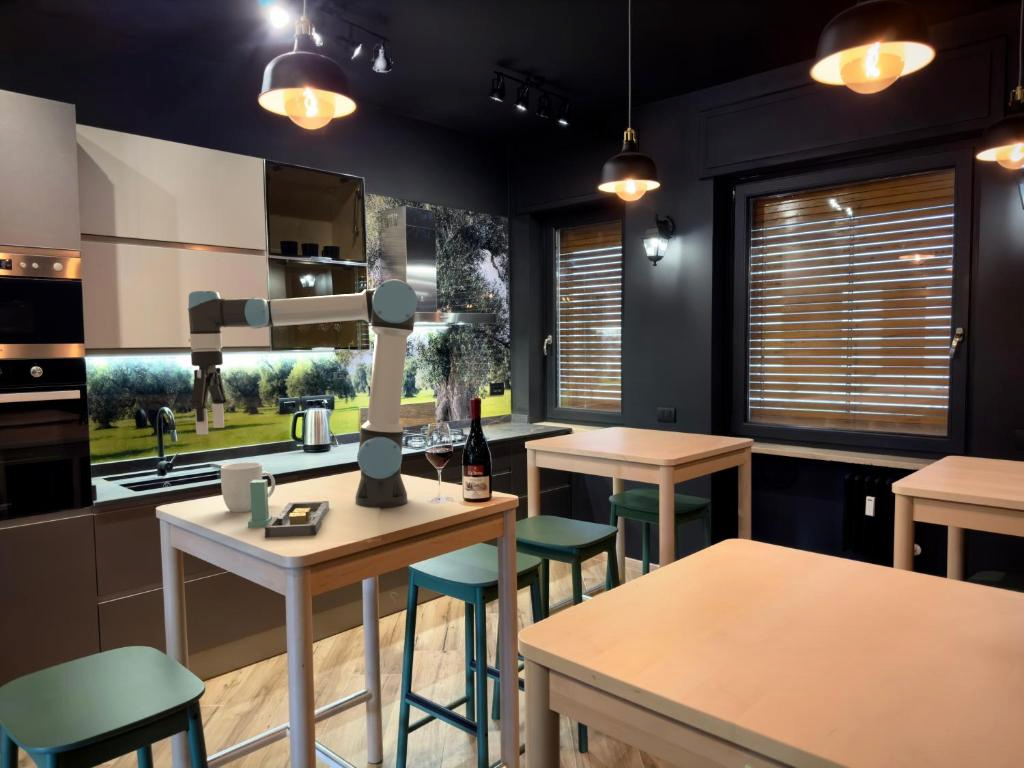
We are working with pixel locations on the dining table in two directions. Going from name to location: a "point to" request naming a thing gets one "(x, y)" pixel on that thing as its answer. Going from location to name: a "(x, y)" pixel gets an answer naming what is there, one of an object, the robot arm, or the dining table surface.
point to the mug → (241, 484)
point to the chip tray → (292, 528)
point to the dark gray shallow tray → (316, 507)
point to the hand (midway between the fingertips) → (211, 430)
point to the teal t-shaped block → (259, 504)
